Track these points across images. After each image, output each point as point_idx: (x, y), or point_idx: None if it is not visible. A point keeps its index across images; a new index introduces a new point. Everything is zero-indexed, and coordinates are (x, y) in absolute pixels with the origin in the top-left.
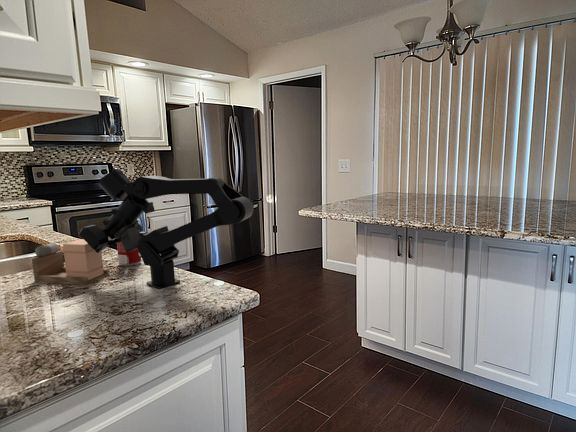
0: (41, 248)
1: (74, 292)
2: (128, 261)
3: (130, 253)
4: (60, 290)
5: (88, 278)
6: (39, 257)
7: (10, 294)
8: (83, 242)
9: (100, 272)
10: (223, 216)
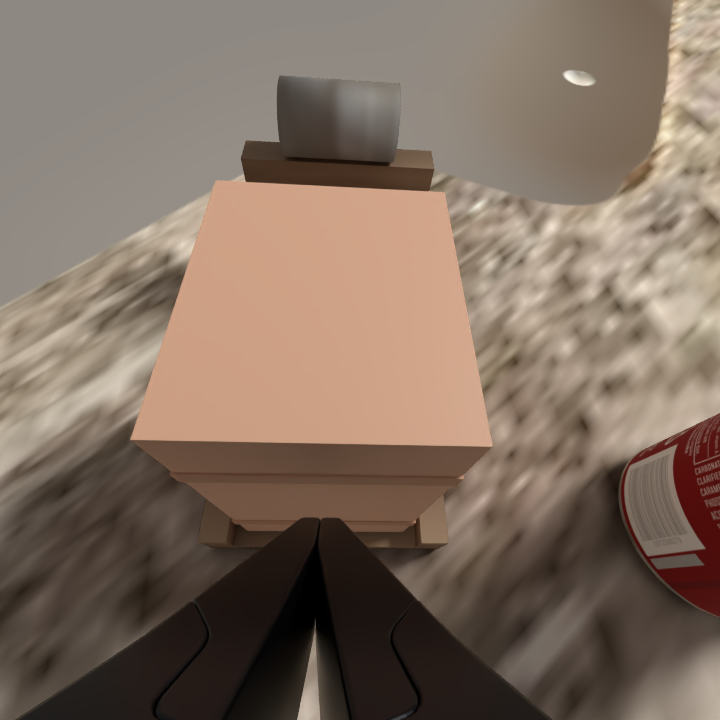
0: (277, 101)
1: (60, 580)
2: (669, 566)
3: None
4: (121, 451)
5: (248, 528)
6: (280, 152)
7: (98, 269)
8: (295, 323)
9: (373, 528)
10: None
